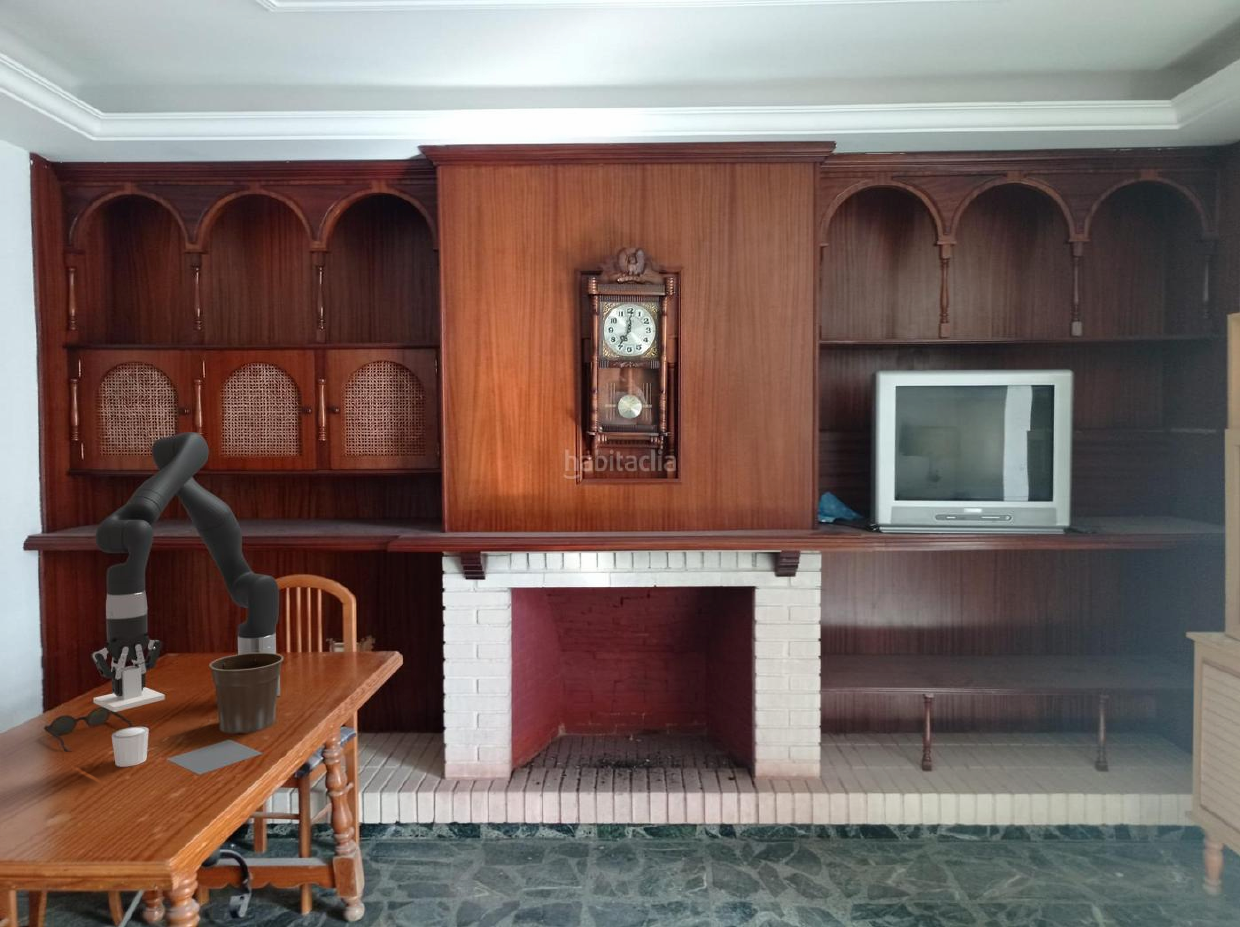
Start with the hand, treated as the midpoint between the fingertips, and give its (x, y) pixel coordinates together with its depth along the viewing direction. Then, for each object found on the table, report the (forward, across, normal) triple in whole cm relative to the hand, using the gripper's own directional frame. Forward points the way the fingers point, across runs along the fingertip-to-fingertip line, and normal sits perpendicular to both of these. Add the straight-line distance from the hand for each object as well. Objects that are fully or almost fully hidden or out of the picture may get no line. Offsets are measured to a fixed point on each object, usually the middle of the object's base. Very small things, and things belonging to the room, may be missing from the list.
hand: (128, 692), depth 178 cm
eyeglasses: (+16, -2, -25) cm, 30 cm away
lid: (+2, 0, 0) cm, 2 cm away
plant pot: (+16, -27, -1) cm, 31 cm away
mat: (+15, -12, +12) cm, 23 cm away
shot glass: (+16, 0, 0) cm, 16 cm away
